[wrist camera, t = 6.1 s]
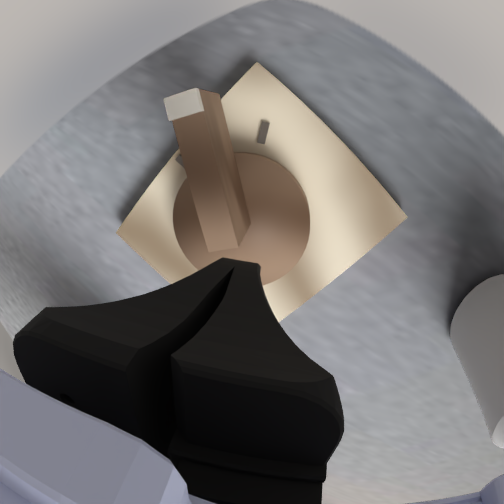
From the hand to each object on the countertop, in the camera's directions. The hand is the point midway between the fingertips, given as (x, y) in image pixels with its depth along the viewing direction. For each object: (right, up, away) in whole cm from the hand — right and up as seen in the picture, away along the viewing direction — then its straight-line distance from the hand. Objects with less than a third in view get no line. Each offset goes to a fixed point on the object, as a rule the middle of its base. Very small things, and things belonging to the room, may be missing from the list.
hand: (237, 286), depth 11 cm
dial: (0, +4, +7) cm, 8 cm away
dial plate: (+1, +3, +9) cm, 9 cm away
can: (+19, -3, +9) cm, 21 cm away
